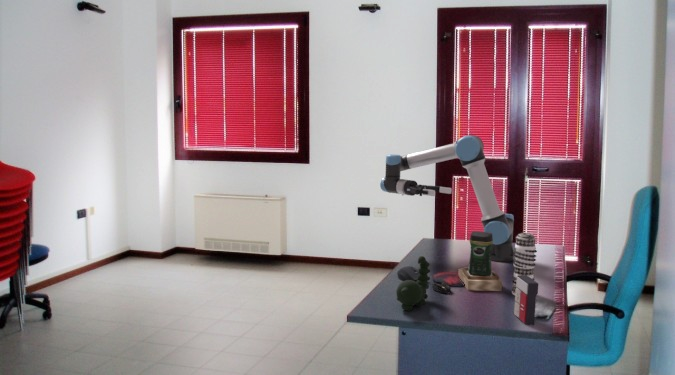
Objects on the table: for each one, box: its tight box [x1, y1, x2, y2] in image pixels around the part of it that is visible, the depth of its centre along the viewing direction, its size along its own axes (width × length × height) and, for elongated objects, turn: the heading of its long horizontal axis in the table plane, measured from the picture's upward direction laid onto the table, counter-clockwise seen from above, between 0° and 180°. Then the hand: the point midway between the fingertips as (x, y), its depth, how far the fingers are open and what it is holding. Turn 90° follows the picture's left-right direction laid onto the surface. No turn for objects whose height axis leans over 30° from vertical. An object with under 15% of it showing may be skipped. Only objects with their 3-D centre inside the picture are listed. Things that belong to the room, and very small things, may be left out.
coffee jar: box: [468, 230, 493, 276], centre depth 273 cm, size 10×8×19 cm
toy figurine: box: [396, 255, 431, 312], centre depth 241 cm, size 9×19×25 cm
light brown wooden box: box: [457, 267, 503, 292], centre depth 274 cm, size 14×20×5 cm
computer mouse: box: [396, 265, 452, 294], centre depth 272 cm, size 10×32×6 cm, turn 34°
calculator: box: [513, 275, 539, 326], centre depth 228 cm, size 11×4×15 cm, turn 5°
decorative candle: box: [511, 232, 538, 296], centre depth 259 cm, size 9×9×25 cm
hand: (443, 192), depth 303 cm, fingers open, 13 cm apart
